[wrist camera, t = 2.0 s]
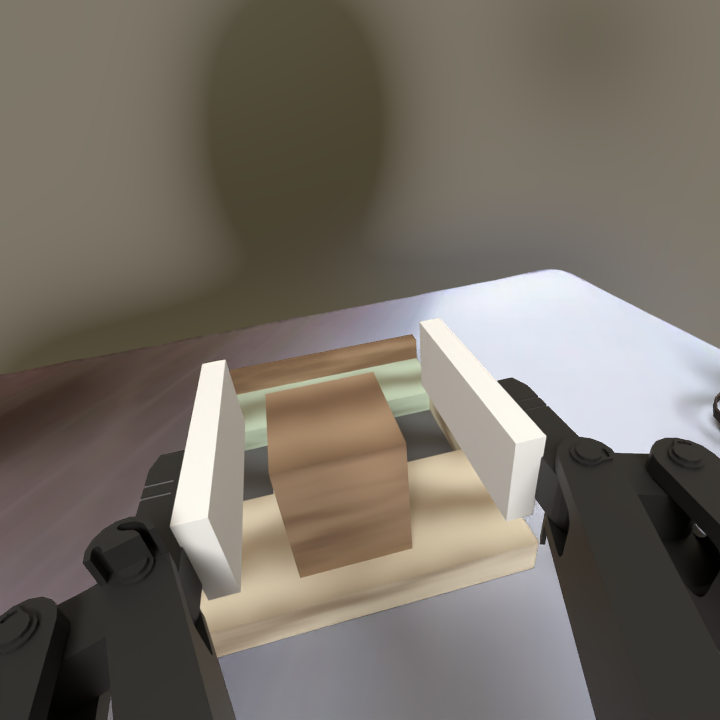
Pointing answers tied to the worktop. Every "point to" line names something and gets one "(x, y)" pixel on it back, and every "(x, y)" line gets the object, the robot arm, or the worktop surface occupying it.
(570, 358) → the worktop surface
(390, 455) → the walnut block
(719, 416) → the binoculars
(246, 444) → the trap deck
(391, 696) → the worktop surface
